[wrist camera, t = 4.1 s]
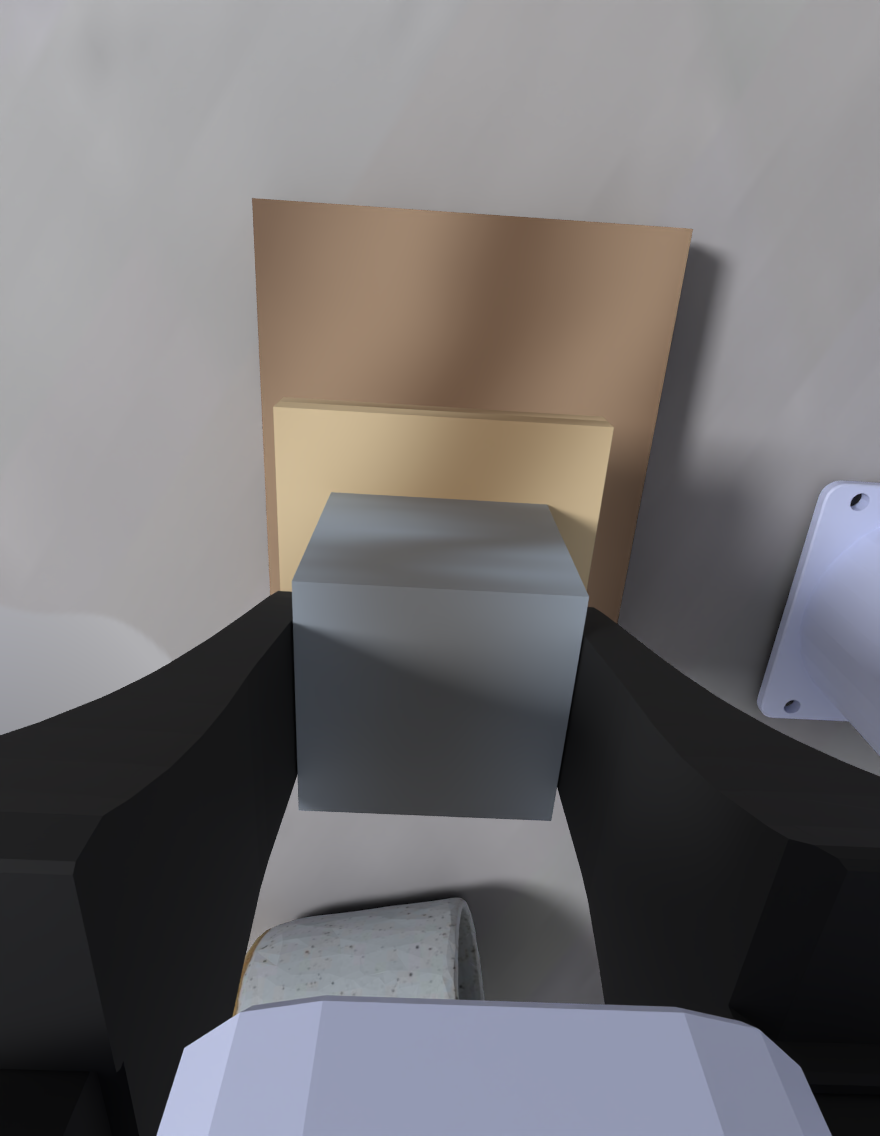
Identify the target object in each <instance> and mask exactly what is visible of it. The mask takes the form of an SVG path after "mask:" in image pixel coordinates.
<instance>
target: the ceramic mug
mask: <svg viewBox="0 0 880 1136" xmlns="http://www.w3.org/2000/svg"><path fill="white" fill-rule="evenodd" d="M323 995H334V996H364V997H394V998H423V999H453V1000H483V1001H485V999H484V989H483V981H482V971H481V963H480V956H479V952H478V947H477V941H476V932H475V927H474V923H473V920H472V916H471V911H470V910H469V906H468V904H467V902H466V901H465V900H463V899H461V898H449V899H442V900H435V901H429V902H421V903H412V904H404V905H396V906H388V907H381V908H375V909H368V910H361V911H354V912H346V913H337V914H329V915H319V916H311V917H306V918H301V919H297V920H293V921H290V922H287V923H284V924H280V925H278V926H276V927H273V928H271V929H269V930H267V931H265V932H264V933H263V934H262V935H261V936H259V937H258V938H257V940H256V941H255V942H254V944H253V945H252V947H251V948H250V950H249V951H248V952H247V954H246V955H245V960H244V965H243V969H242V974H241V979H240V984H239V988H238V993H237V998H236V1002H235V1007H234V1012H233V1016H235V1015H237V1014H238V1013H240V1012H242V1011H243V1010H245V1009H247V1008H249V1007H251V1006H253V1005H260V1004H267V1003H274V1002H281V1001H288V1000H295V999H302V998H309V997H316V996H323Z"/></svg>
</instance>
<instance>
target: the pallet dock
mask: <svg viewBox="0 0 880 1136" xmlns="http://www.w3.org/2000/svg"><path fill="white" fill-rule="evenodd" d="M252 205H253V227H254V249H255V271H256V293H257V314H258V336H259V358H260V380H261V402H262V424H263V446H264V468H265V489H266V511H267V533H268V555H269V577H270V595H272V594H274V593H275V592H277V591H280V569H279V544H278V518H277V492H276V467H275V441H274V415H273V407H274V406H275V405H276V404H277V403H278V402H279V401H280V400H281V399H282V398H283V397H288V398H304V399H321V400H337V401H354V402H370V403H387V404H403V405H420V406H436V407H453V408H469V409H486V410H502V411H519V412H535V413H552V414H569V415H585V416H602V417H604V418H605V419H606V420H607V421H608V422H609V423H610V424H611V425H612V426H613V427H614V429H613V435H612V441H611V447H610V453H609V459H608V465H607V471H606V477H605V483H604V489H603V495H602V501H601V507H600V513H599V519H598V525H597V531H596V537H595V543H594V549H593V555H592V561H591V567H590V573H589V579H588V585H587V593H588V595H589V601H588V606H587V607H594V608H596V609H597V610H599V611H601V612H602V613H603V614H605V615H606V616H608V617H609V618H610V619H611V620H613V621H614V622H615V623H617V622H618V617H619V612H620V606H621V601H622V596H623V591H624V586H625V580H626V575H627V570H628V565H629V559H630V554H631V549H632V544H633V539H634V533H635V528H636V523H637V518H638V513H639V507H640V502H641V497H642V492H643V487H644V481H645V476H646V471H647V466H648V460H649V455H650V450H651V445H652V440H653V434H654V429H655V424H656V419H657V414H658V408H659V403H660V398H661V393H662V388H663V382H664V377H665V372H666V367H667V361H668V356H669V351H670V346H671V341H672V335H673V330H674V325H675V320H676V315H677V309H678V304H679V299H680V294H681V288H682V283H683V278H684V273H685V268H686V262H687V257H688V252H689V247H690V242H691V236H692V231H693V229H686V228H672V227H658V226H643V225H629V224H615V223H600V222H586V221H571V220H557V219H543V218H528V217H514V216H500V215H485V214H471V213H456V212H442V211H428V210H413V209H399V208H385V207H370V206H356V205H341V204H327V203H313V202H298V201H284V200H270V199H255V198H252Z"/></svg>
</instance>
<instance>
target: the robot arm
mask: <svg viewBox="0 0 880 1136" xmlns="http://www.w3.org/2000/svg"><path fill="white" fill-rule="evenodd" d="M857 494H861V499H860V501H859V503H857V504H856V505H854V506H850V503H851V500H852V499H853V497H854V496H856V495H857ZM791 700H794V701H793V703H792V704H790V705H789V706H785V704H786V703H787V702H789V701H791ZM757 705H758V707H759V709H760V710H761V712H762V713H763V714H764V715H765V716H767V717H771V718H787V719H808V720H829V721H849V722H850V723H851V724H852V725H853V727H854V728H855V729H856V730H857V731H858V732H859V733H860V734H861V736H862V737H863V738H864V739H865V740H866V741H867V742H868V743H869V745H870V746H871V747H872V748H873V749H874V750H875V751H876V752H877V754H878V755H879V756H880V483H875V482H858V481H834V482H832V483H830V484H828V485H827V486H826V487H825V488H824V489H823V490H822V491H821V493H820V495H819V498H818V501H817V504H816V507H815V511H814V514H813V517H812V521H811V524H810V527H809V530H808V534H807V537H806V540H805V544H804V547H803V550H802V553H801V557H800V560H799V563H798V567H797V570H796V573H795V576H794V580H793V583H792V586H791V590H790V593H789V596H788V600H787V603H786V606H785V609H784V613H783V616H782V619H781V623H780V626H779V629H778V632H777V636H776V639H775V642H774V646H773V649H772V652H771V655H770V659H769V662H768V665H767V669H766V672H765V675H764V678H763V682H762V685H761V688H760V692H759V695H758V698H757ZM297 774H298V768H297V736H296V704H295V672H294V640H293V608H292V592H290V591H277V592H275V593H274V594H272V595H270V596H269V597H268V598H266V599H265V600H263V601H262V602H260V603H259V604H258V605H256V606H255V607H254V608H252V609H251V610H249V611H248V612H247V613H245V614H244V615H242V616H241V617H240V618H238V619H237V620H235V621H234V622H233V623H231V624H230V625H228V626H227V627H225V628H224V629H222V630H221V631H220V632H218V633H217V634H215V635H214V636H212V637H211V638H209V639H208V640H206V641H205V642H203V643H201V644H200V645H198V646H196V647H195V648H193V649H192V650H190V651H188V652H187V653H185V654H183V655H182V656H180V657H179V658H177V659H175V660H174V661H172V662H171V663H169V664H167V665H166V666H164V667H162V668H160V669H158V670H157V671H155V672H153V673H151V674H149V675H147V676H145V677H143V678H141V679H140V680H137V681H135V682H133V683H131V684H129V685H127V686H125V687H123V688H121V689H119V690H117V691H115V692H113V693H111V694H108V695H106V696H104V697H102V698H99V699H97V700H94V701H92V702H89V703H87V704H84V705H82V706H79V707H77V708H74V709H72V710H69V711H66V712H64V713H62V714H59V715H57V716H54V717H51V718H49V719H46V720H44V721H41V722H39V723H36V724H33V725H30V726H27V727H24V728H21V729H18V730H15V731H12V732H9V733H6V734H3V735H0V1136H880V776H877V775H874V774H872V773H870V772H867V771H865V770H862V769H860V768H857V767H855V766H852V765H850V764H847V763H845V762H843V761H840V760H838V759H836V758H834V757H832V756H829V755H827V754H825V753H823V752H821V751H818V750H816V749H814V748H812V747H810V746H808V745H805V744H803V743H801V742H799V741H797V740H795V739H793V738H791V737H789V736H787V735H785V734H783V733H781V732H779V731H777V730H775V729H773V728H771V727H769V726H767V725H765V724H764V723H762V722H760V721H758V720H756V719H755V718H753V717H751V716H749V715H747V714H746V713H744V712H742V711H740V710H738V709H737V708H735V707H733V706H732V705H730V704H728V703H727V702H725V701H723V700H722V699H720V698H718V697H717V696H715V695H714V694H712V693H711V692H709V691H708V690H706V689H705V688H703V687H702V686H700V685H699V684H697V683H696V682H694V681H693V680H691V679H690V678H688V677H687V676H685V675H684V674H682V673H681V672H680V671H678V670H677V669H675V668H674V667H673V666H671V665H670V664H669V663H667V662H666V661H665V660H663V659H662V658H660V657H659V656H658V655H657V654H655V653H654V652H653V651H651V650H650V649H649V648H647V647H646V646H645V645H643V644H642V643H641V642H640V641H638V640H637V639H636V638H635V637H633V636H632V635H631V634H629V633H628V632H627V631H626V630H624V629H623V628H622V627H621V626H619V625H618V624H617V623H615V622H614V621H613V620H611V619H610V618H609V617H608V616H606V615H605V614H603V613H602V612H601V611H599V610H597V609H596V608H594V607H587V612H586V618H585V624H584V630H583V636H582V642H581V648H580V654H579V660H578V665H577V671H576V677H575V683H574V689H573V695H572V701H571V707H570V713H569V719H568V724H567V730H566V736H565V742H564V748H563V754H562V760H561V766H560V772H559V778H558V783H557V788H558V791H559V795H560V799H561V802H562V806H563V809H564V813H565V816H566V820H567V823H568V827H569V830H570V834H571V837H572V841H573V844H574V848H575V851H576V855H577V858H578V862H579V866H580V869H581V873H582V877H583V881H584V885H585V890H586V894H587V898H588V903H589V909H590V915H591V921H592V927H593V933H594V938H595V944H596V950H597V956H598V962H599V968H600V975H601V981H602V988H603V994H604V1001H605V1005H603V1004H573V1003H543V1002H513V1001H483V1000H453V999H423V998H394V997H364V996H334V995H323V996H316V997H309V998H302V999H295V1000H288V1001H281V1002H274V1003H267V1004H260V1005H253V1006H251V1007H249V1008H247V1009H245V1010H243V1011H242V1012H240V1013H238V1014H237V1015H235V1016H233V1012H234V1007H235V1002H236V998H237V993H238V988H239V984H240V979H241V974H242V969H243V965H244V960H245V955H246V950H247V946H248V941H249V937H250V933H251V928H252V924H253V919H254V915H255V910H256V906H257V901H258V897H259V892H260V888H261V885H262V881H263V878H264V874H265V871H266V867H267V864H268V860H269V857H270V854H271V851H272V848H273V845H274V842H275V839H276V836H277V834H278V831H279V828H280V825H281V822H282V819H283V816H284V813H285V810H286V807H287V804H288V801H289V798H290V795H291V792H292V789H293V786H294V783H295V780H296V777H297Z"/></svg>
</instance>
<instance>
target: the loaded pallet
mask: <svg viewBox="0 0 880 1136" xmlns="http://www.w3.org/2000/svg"><path fill="white" fill-rule="evenodd" d="M273 415H274V441H275V467H276V492H277V518H278V544H279V569H280V591H290V592H292V608H293V640H294V672H295V704H296V736H297V768H298V800H299V810H304V811H328V812H352V813H376V814H400V815H424V816H448V817H472V818H496V819H520V820H544V821H551V819H552V813H553V807H554V801H555V795H556V789H557V783H558V778H559V772H560V766H561V760H562V754H563V748H564V742H565V736H566V730H567V724H568V719H569V713H570V707H571V701H572V695H573V689H574V683H575V677H576V671H577V665H578V660H579V654H580V648H581V642H582V636H583V630H584V624H585V618H586V612H587V606H588V601H589V595H588V593H587V585H588V579H589V573H590V567H591V561H592V555H593V549H594V543H595V537H596V531H597V525H598V519H599V513H600V507H601V501H602V495H603V489H604V483H605V477H606V471H607V465H608V459H609V453H610V447H611V441H612V435H613V429H614V427H613V426H612V425H611V424H610V423H609V422H608V421H607V420H606V419H605V418H604V417H602V416H585V415H569V414H552V413H535V412H519V411H502V410H486V409H469V408H453V407H436V406H420V405H403V404H387V403H370V402H354V401H337V400H321V399H304V398H288V397H283V398H282V399H281V400H280V401H279V402H278V403H277V404H276V405H275V406H274V407H273Z"/></svg>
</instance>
